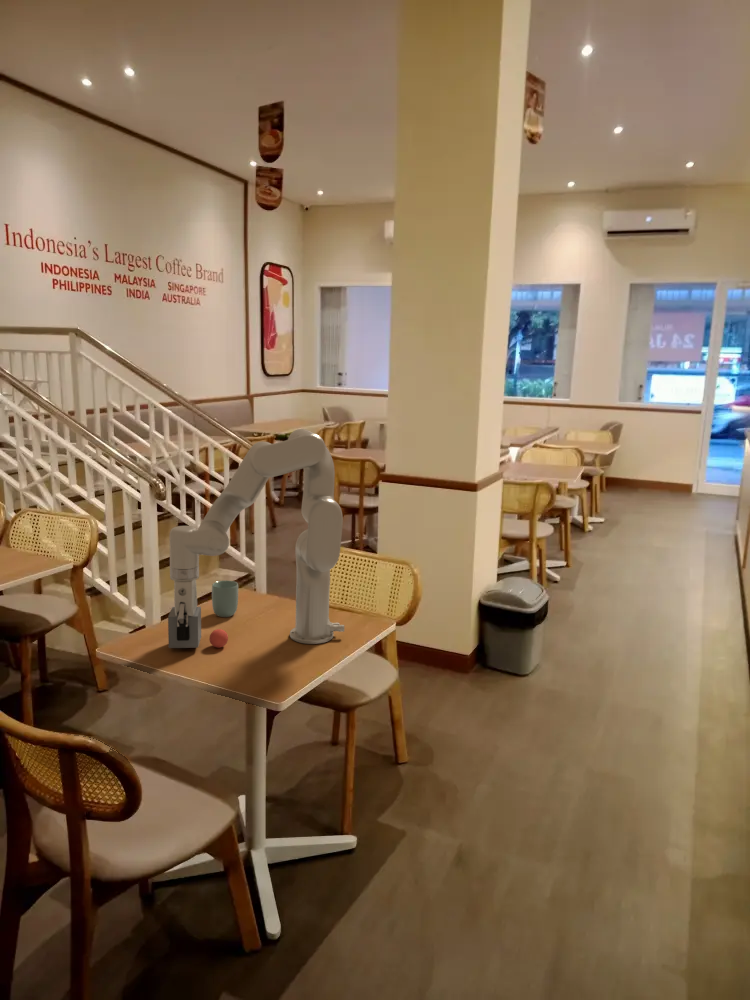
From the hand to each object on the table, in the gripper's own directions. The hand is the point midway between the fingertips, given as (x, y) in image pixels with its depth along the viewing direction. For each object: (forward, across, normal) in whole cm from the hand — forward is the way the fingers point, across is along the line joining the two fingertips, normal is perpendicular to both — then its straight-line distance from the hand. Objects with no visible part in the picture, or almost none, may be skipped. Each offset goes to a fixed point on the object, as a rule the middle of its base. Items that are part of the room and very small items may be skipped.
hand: (185, 633), depth 194 cm
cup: (+4, +25, -9) cm, 27 cm away
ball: (+1, 0, -9) cm, 9 cm away
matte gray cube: (+2, 0, 0) cm, 2 cm away
